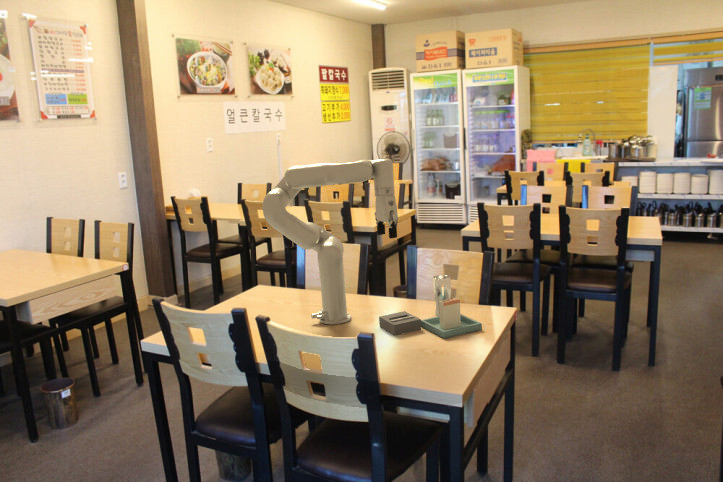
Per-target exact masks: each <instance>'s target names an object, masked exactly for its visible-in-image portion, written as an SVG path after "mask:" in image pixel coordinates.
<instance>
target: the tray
mask: <svg viewBox="0 0 723 482" xmlns="http://www.w3.org/2000/svg"><path fill="white" fill-rule="evenodd" d="M460 317H461V326H458V327H454V328H449V329H445V330H444V329H442V328H440V316H438V315H436V316H434V317H429V318H424V319H421V329H424V330H426V331H429V332H430V333H432V334H434V335H436V336H438V337H440V338H442V339H444V340H446V339H449V338H453V337H457V336H462V335H467V334H470V333H475V332H479V331H482V330H483V326H482V325H483V323H482V322H480V321H479V320H475V319H473V318H471V317H468V316H467V315H464V314H462V313H460Z"/></svg>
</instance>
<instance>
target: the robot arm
mask: <svg viewBox="0 0 723 482" xmlns="http://www.w3.org/2000/svg"><path fill="white" fill-rule="evenodd" d="M394 178H395V177H394V163H393V160H392V159H390V158H381V159H380V158H379V159H360V160H357V161H354V162H345V163H331V162H328V163H327V162H324V163H323V162H322V163H321V162H320V163H315V164H307V165H293V166H291V167H289V168H287V169H286V171H285V173H284V176H283V177H282V178H281V179H280V181H279V182H278V183H277V184H276V186H275V187H273V189H272V190H270V191H268V193H266V194H265V196H264V197H263V200H262V214H263V217H264V219H265V221H266V222H267V223H268V225H269V226H270V227H272V228H273V229H274V230H275V231H277V232H278V233H280V234H281V235H283V236H284V237H285V238H286V239H288V240H289V241H291V242H293V243H294V244H296V245H297V246H298V247H300V248H301V249H302V250H307V251H308V250H313V251H315V252H316V253H317V263H318V265H317V266H318V271H319V282H320V283H319V284H320V292H321V295H320V296H321V305H322V308H320V311H318V312H317V313H316V312H315V313H311V315H310V317H311V319H313V320H314V319H317V320H319V322H320V324H323V325H340V324H341V325H342V324H345V323H348V322H350V321H351V320H352V315H351V314H350V313H349V312H348V307H347V293H346V281H345V269H344V257H343V255H344V251H345V249H344V248H345V247H344V244H343V243H342V241H341V239H339V238H338V237H336V236H335V235H333V234H332V233H331V232H329V231H327V230H326V229H325V228H323V227H322V226H320V225H318V223H315V222H311V221H308V222H304V221H303V220H302V219H300V218H298V217H297V216H295V214H292V213H290V212H289V211H287V209H286V208H287V207H288V206H289V205H290V203H291V202H292V201H293V200H294V199H295V198H296V196H297V195H298V194H299V193H300V192H301V190H302V189H308V188H315V187H324V186H328V187H329V186H335V185H344V184H354V183H361V182H362V183H363V182H367V181H368V180H370V179H373V187H374V197H375V202H374V203H375V212H374V217H375V218H374V219H375V221H376V222H375V223H376V234H377V235H378V236H382V235H385V234H386V226H385V225H386V224H385V223H387V225H388V238H389V239H397V238H398V230H397V228H398V223H399V222H398V220H399V216H398V206H397V201H396V200H397V199H396V197H395V195H396V194H395V179H394Z"/></svg>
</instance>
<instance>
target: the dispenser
mask: <svg viewBox="0 0 723 482" xmlns="http://www.w3.org/2000/svg"><path fill="white" fill-rule="evenodd" d="M421 320H422V319H421V318H419V317H417V316H415V315H413V314H412V313H409V312H407V311H406V310H405V311H400V312H399V311H397V312H393V313H390V314H385V315H380V316H378V323H379V328H381V329H382V330H385V331H386V332H388V333H389V334H391V335H393V336H396V337H397V336H399V335H405V334H408V333H412V332H416V331H420V330H421V331H422V327H421Z"/></svg>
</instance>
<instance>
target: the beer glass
mask: <svg viewBox="0 0 723 482" xmlns="http://www.w3.org/2000/svg"><path fill="white" fill-rule="evenodd" d="M451 282H452V281H451V276H450V275H447V274H436V275H434V276H433V277H432V289H433V291H432V292H433V296H434V300H435V316H440V314H439V301H441V300H446V299H451V293H452V283H451Z"/></svg>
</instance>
